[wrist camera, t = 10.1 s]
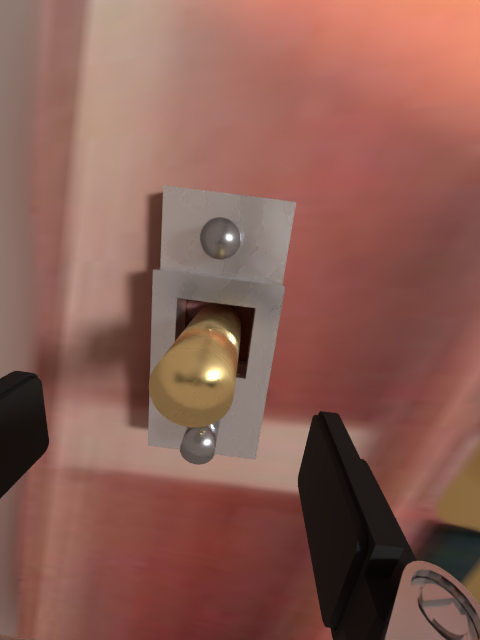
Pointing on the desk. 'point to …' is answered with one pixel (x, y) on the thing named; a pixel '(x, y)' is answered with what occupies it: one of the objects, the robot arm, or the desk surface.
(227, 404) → the brass pin
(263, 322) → the upper chain link
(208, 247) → the slotted link plate
